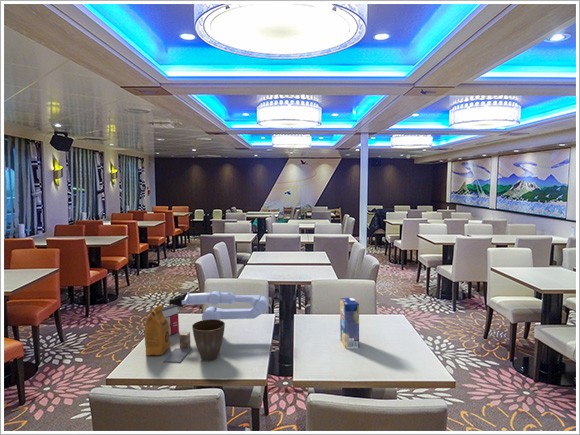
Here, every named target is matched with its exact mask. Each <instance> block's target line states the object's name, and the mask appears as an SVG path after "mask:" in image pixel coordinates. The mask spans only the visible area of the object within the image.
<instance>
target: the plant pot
mask: <svg viewBox="0 0 580 435" xmlns="http://www.w3.org/2000/svg"><path fill="white" fill-rule="evenodd" d="M191 325H192V326H191V327H192V334H193V338H194V341H195V346H196V349H197V352H198V354H199V357H200V359H201V360H202V361H204V362H211V361H212V362H213V361H215V360H216V359H218V357H219V353H220V350H221V348H222V344H223V338H224V335H225V334H224V333H225V327H226V326H225V325H226V324H225V321H223V320H222V319H220V320H216V319H208V320H202V319H201V320H198V321H196V322H194V323H193V324H191Z"/></svg>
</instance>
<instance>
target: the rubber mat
mask: <svg viewBox="0 0 580 435" xmlns="http://www.w3.org/2000/svg"><path fill="white" fill-rule="evenodd" d="M191 351H192V349H191V348H188V349H180V347H179V348H176V347H175V348H174V349H173V350H172V351H171V352H170V353H169V354H168V355H167V357H165V359H163V363H173V364H174V363H175V364H181V363H182V361H184V359H185V358H186V357H187V356H188V354H189V353H190V352H191Z"/></svg>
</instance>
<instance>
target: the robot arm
mask: <svg viewBox="0 0 580 435" xmlns="http://www.w3.org/2000/svg"><path fill="white" fill-rule="evenodd" d="M269 301H270V300H269V298H268V296H266V295H260V294H249V295H247V294H244V295H243V294H242V295H240V294H239V295H237V294H235V293H233V292H231V291H228V292H223V291H216V290H213V291H211V292H198V293H197V292H196V293H191V292H190V291H187V292H185V293H184V294H180V295H176V296H174V297H173V298H172V299H169V305H177V306H178V307H180V308H184V305H186V306H191V305H192V306H193V305H195V306H196V305H207V304H211V305H212V306H208V307H207V308H206V309H205V311H204V312H203V313H202V314H201V321H202V320H208V319H216V320H246V319H247V320H248V319H249V320H252V319H253V320H254V319H257V318H258V317H259V316H261V315H263V314H265V312H266V311H267V309H268V305H269ZM234 303H245V304H246V303H247V304H249V305H251V308H223V309H222V308H220V307H215V306H216V305H218V304H223V305H224V304H225V305H226V304H228V305H233V304H234ZM213 305H214V306H213Z"/></svg>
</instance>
